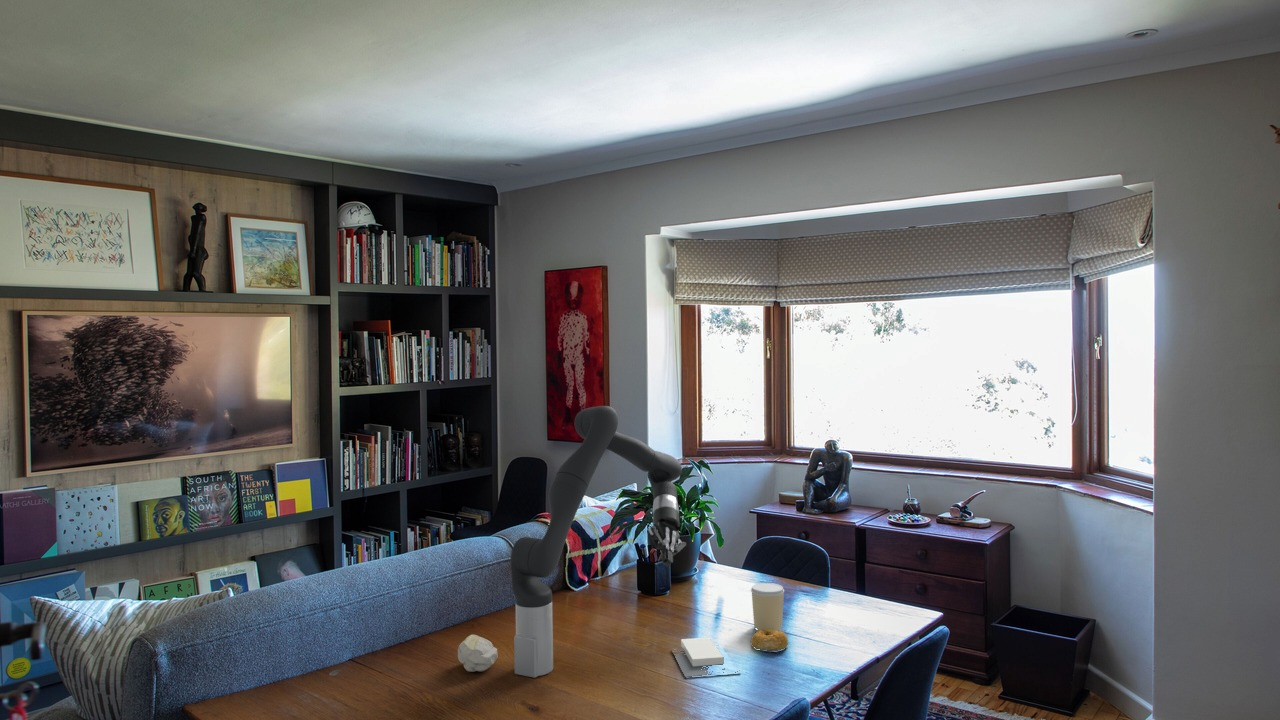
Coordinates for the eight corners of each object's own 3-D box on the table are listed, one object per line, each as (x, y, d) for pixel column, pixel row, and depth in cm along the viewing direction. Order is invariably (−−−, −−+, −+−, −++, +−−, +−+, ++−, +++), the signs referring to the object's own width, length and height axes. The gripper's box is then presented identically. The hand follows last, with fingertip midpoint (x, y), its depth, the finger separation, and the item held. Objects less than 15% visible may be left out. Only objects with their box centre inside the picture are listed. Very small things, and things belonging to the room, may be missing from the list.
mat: (671, 651, 215) (670, 649, 215) (721, 647, 217) (721, 645, 217) (685, 678, 197) (685, 676, 197) (740, 674, 199) (740, 672, 199)
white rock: (494, 657, 213) (456, 666, 209) (491, 626, 213) (452, 634, 210) (503, 671, 201) (462, 680, 198) (499, 637, 202) (458, 646, 198)
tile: (681, 639, 216) (692, 659, 203) (710, 637, 218) (723, 657, 204) (681, 647, 216) (692, 667, 203) (710, 644, 218) (723, 665, 204)
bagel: (789, 640, 222) (789, 623, 222) (787, 656, 211) (786, 638, 211) (753, 638, 224) (752, 621, 224) (749, 653, 214) (748, 636, 213)
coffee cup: (783, 623, 235) (782, 582, 235) (785, 635, 226) (785, 592, 225) (750, 622, 236) (750, 582, 236) (752, 634, 227) (751, 591, 226)
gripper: (656, 497, 228) (657, 547, 214) (691, 516, 233) (695, 566, 219) (639, 511, 231) (639, 561, 218) (675, 529, 237) (677, 579, 223)
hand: (667, 563), depth 219 cm, fingers closed
